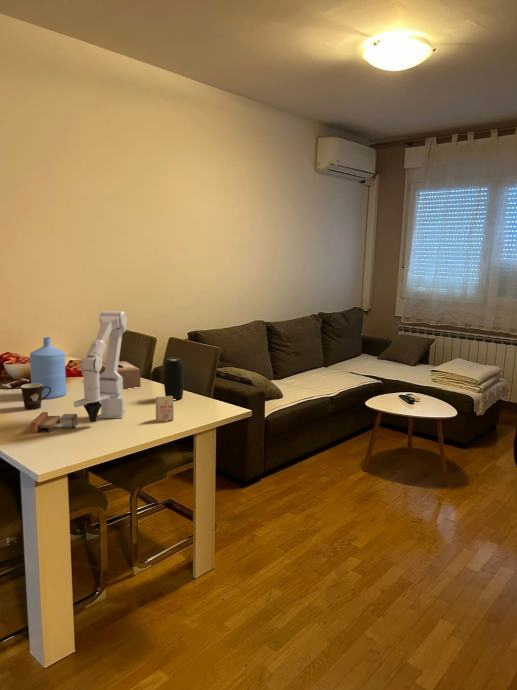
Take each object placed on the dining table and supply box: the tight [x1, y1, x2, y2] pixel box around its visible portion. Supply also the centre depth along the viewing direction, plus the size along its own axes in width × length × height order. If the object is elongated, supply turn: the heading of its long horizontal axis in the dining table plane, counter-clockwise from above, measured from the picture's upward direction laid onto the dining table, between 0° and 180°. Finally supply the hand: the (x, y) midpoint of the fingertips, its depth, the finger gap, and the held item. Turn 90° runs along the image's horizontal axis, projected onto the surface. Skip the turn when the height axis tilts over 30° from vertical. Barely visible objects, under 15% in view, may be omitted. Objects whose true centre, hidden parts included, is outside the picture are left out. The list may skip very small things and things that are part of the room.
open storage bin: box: [60, 413, 79, 430], centre depth 193 cm, size 5×5×4 cm
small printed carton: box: [155, 396, 174, 422], centre depth 204 cm, size 4×7×10 cm, turn 108°
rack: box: [30, 411, 61, 434], centre depth 193 cm, size 7×14×4 cm, turn 6°
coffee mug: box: [20, 383, 51, 411], centre depth 218 cm, size 12×9×10 cm
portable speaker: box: [163, 356, 185, 400], centre depth 237 cm, size 9×9×20 cm
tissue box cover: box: [99, 360, 141, 390], centre depth 265 cm, size 26×14×10 cm, turn 32°
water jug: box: [29, 336, 68, 400], centre depth 238 cm, size 16×16×28 cm
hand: (93, 421), depth 194 cm, fingers closed
